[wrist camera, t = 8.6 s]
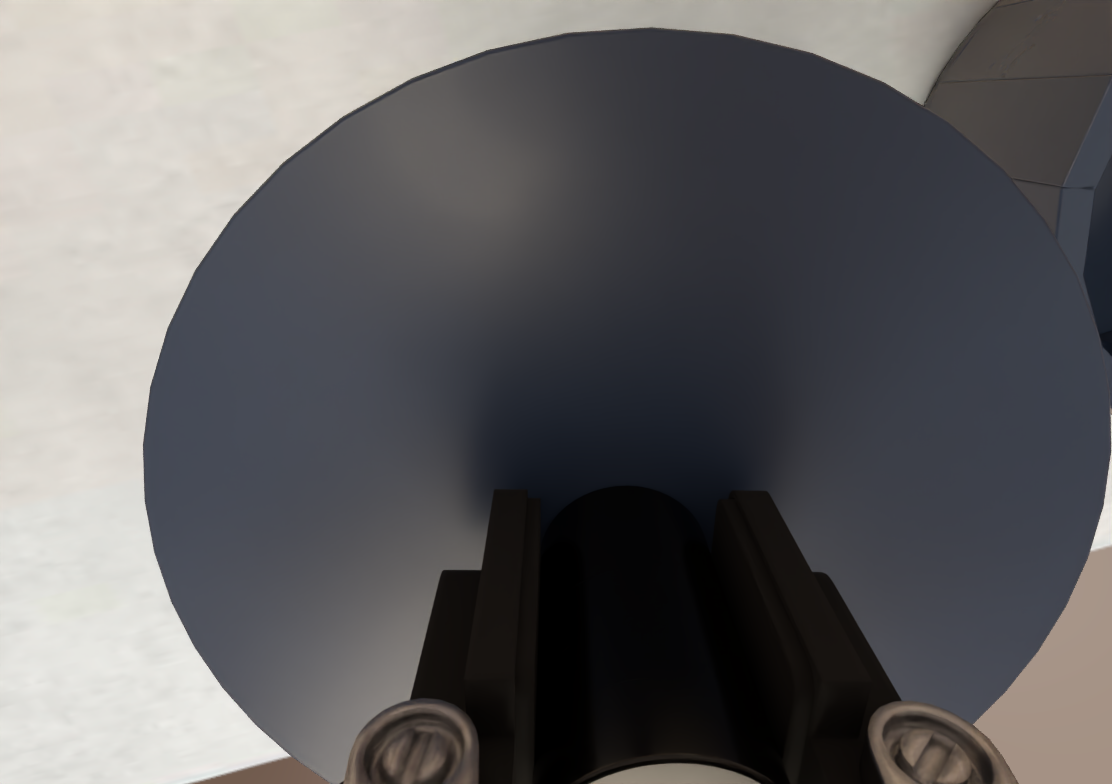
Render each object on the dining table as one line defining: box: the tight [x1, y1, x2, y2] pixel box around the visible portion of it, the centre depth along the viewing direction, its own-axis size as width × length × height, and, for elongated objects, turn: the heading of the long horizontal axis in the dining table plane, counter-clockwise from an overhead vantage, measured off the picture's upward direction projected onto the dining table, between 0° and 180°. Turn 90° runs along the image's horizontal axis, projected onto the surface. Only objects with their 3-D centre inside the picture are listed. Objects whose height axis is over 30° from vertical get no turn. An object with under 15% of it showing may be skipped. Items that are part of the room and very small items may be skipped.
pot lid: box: [143, 27, 1111, 784], centre depth 10 cm, size 16×16×6 cm
